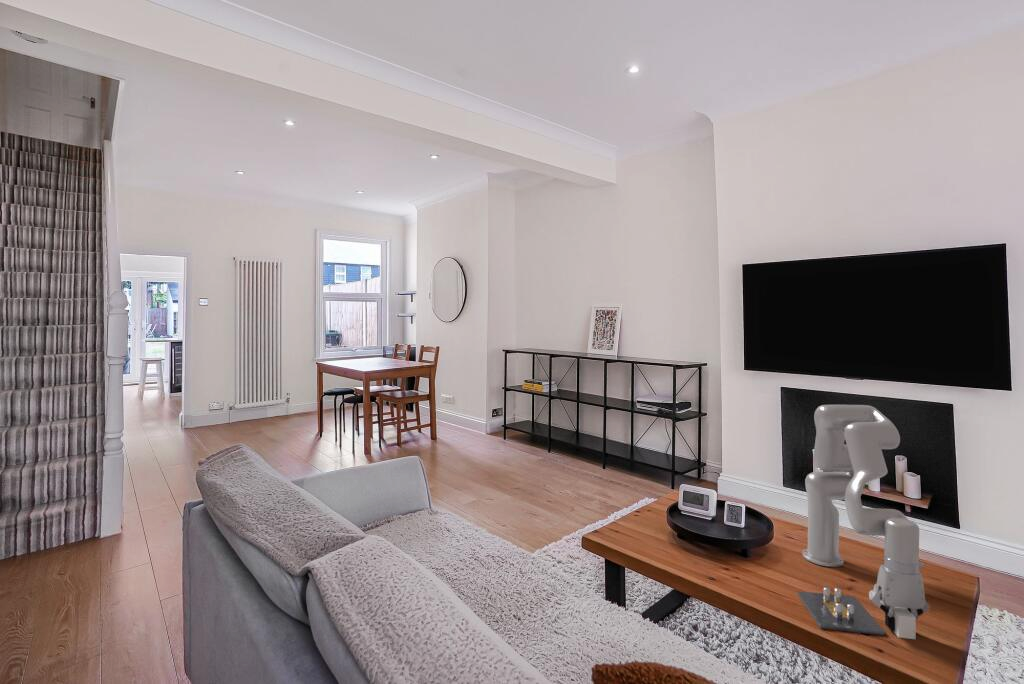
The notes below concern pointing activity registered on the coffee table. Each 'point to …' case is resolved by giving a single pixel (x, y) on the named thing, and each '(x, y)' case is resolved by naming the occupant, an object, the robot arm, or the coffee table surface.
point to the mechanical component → (873, 593)
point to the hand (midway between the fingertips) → (900, 629)
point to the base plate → (836, 623)
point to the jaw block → (904, 623)
